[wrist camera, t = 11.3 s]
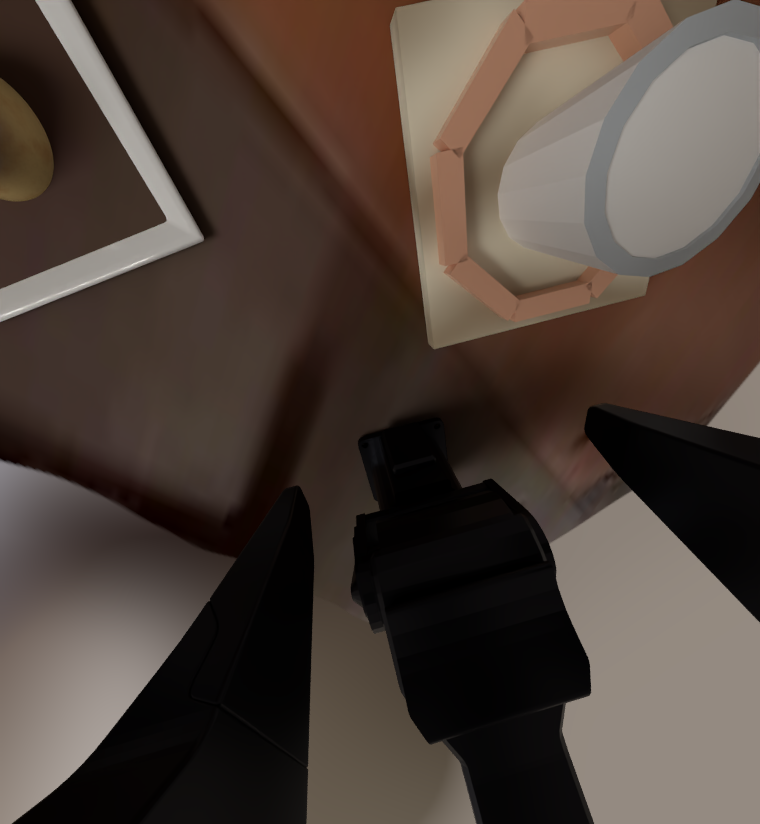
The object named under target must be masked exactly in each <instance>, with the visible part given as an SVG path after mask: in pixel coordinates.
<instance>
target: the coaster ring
mask: <svg viewBox="0 0 760 824" xmlns="http://www.w3.org/2000/svg"><path fill="white" fill-rule="evenodd" d="M671 28H673V25H672V23H671V21H670V19H669V17H668V15H667V13H666V11H665V9H664V7H663V5H662V3H661V1H660V0H524V1H523V2H522V3H521V5H520V6H519V7H518V8H517V9H516V10H515V9H513V10H512V12H511V13H510V14H509V15H508V16H507V17H506V18H505V20H504V21H503V22H502V23H501V24H500V26H499V28H498V30H497V31H496V33H495V35H494V37H493V38H492V40H491V42H490V44H489V45H488V47H487V49H486V51H485V52H484V54H483V56H482V58H481V60H480V61H479V63H478V65H477V67H476V68H475V70H474V72H473V74H472V75H471V77H470V79H469V81H468V82H467V84H466V86H465V88H464V89H463V91H462V93H461V95H460V96H459V98H458V100H457V102H456V104H455V105H454V107H453V109H452V111H451V112H450V114H449V116H448V118H447V119H446V121H445V123H444V125H443V126H442V128H441V130H440V132H439V133H438V135H437V137H436V139H435V140H434V142H433V145H434V146H435V147H436V148H437V149H438V150H439V151H440V152H438V153H436V154H434V155H433V156H431V157H430V166H431V178H432V189H433V200H434V211H435V223H436V234H437V245H438V256H439V264H440V265H443V266H447V268H446V269H445V271H444V272H443V273H445V274H446V275H447V276H448V277H450V278H451V279H452V280H453V281H455V282H456V283H457V284H458V285H460V286H461V287H462V288H464V289H465V290H466V291H467V292H469V293H470V294H471V295H472V296H474V297H475V298H476V299H477V300H479V301H480V302H481V303H483V304H484V305H485V306H486V307H488V308H489V309H490V310H491V311H493V312H494V313H495V314H496V315H498V316H499V317H501V318H503V319H505V320H507V321H508V320H512V321H514V322H518V321H522V320H526V319H530V318H534V317H538V316H542V315H546V314H550V313H554V312H557V311H561V310H565V309H569V308H573V307H577V306H581V305H585V304H589V302H590V297H594V298H598V297H599V296H600V294H601V293H602V292H603V291H604V290H605V289H606V288H607V286H608V285H609V284H610V283H611V282H612V281H613V280H614V279H615V277H616V276H617V275H618V274H614V273H611V272H607V271H604V270H600V269H597V268H593V267H590V266H588V267H587V269H586V270H585V271H584V272H583V273H582V275H581V276H580V277H579V278H578V279H577V281H573V282H569V283H565V284H561V285H557V286H553V287H549V288H545V289H541V290H537V291H533V292H529V293H525V294H521V295H517V296H514V295H513V294H512V293H511V292H509V291H508V290H507V289H506V288H505V287H504V286H502V285H501V284H500V283H499V282H498V281H496V280H495V279H494V278H493V277H492V276H491V275H489V274H488V273H487V272H486V271H485V270H484V269H482V268H481V267H480V266H479V265H478V264H477V263H475V262H474V261H473V260H472V259H471V258H470V257H468V251H467V228H466V206H465V183H464V160H463V153H464V151H465V150H466V148H467V146H468V145H469V143H470V141H471V140H472V138H473V136H474V135H475V133H476V131H477V130H478V128H479V127H480V125H481V123H482V122H483V120H484V118H485V117H486V115H487V113H488V112H489V110H490V108H491V107H492V105H493V103H494V102H495V100H496V99H497V97H498V95H499V94H500V92H501V90H502V89H503V87H504V85H505V84H506V82H507V80H508V79H509V77H510V75H511V74H512V72H513V70H514V69H515V67H516V66H517V64H518V62H519V61H520V59H521V57H522V56H523V54H526V53H531V52H535V51H540V50H544V49H549V48H553V47H558V46H563V45H567V44H572V43H576V42H581V41H585V40H590V39H595V38H599V37H604V36H608V37H609V38H610V40H611V42H612V43H613V45H614V47H615V48H616V50H617V52H618V53H619V55H620V57H621V58H622V60H623V62H624V61H625V60H627V59H628V58H630V57H631V56H633V55H634V54H635V53H637V52H638V51H640V50H641V49H643V48H644V47H646V46H647V45H648V44H650V43H651V42H653V41H654V40H656V39H657V38H658V37H660V36H661V35H663V34H664V33H666V32H667V31H668V30H670V29H671Z"/></svg>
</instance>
